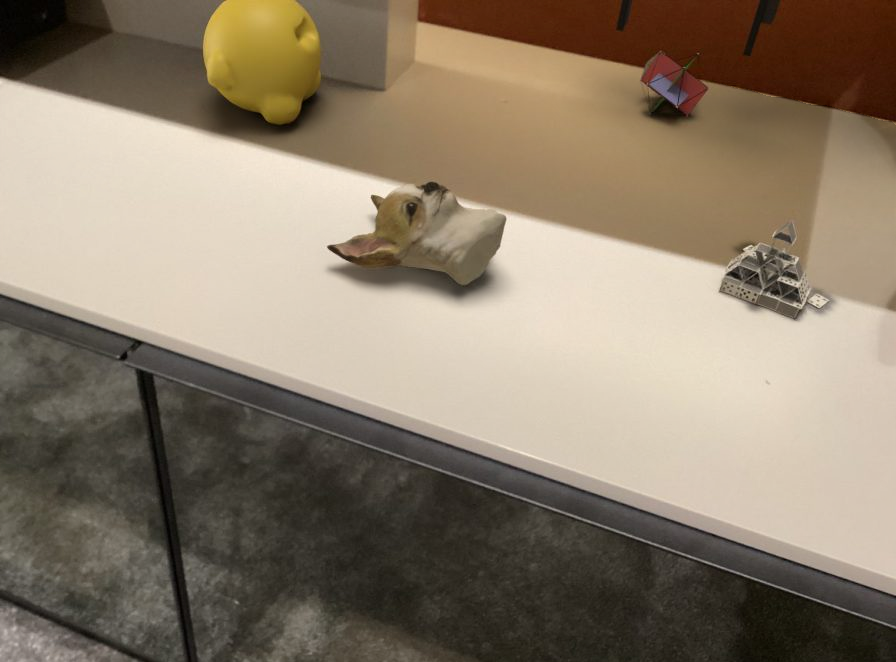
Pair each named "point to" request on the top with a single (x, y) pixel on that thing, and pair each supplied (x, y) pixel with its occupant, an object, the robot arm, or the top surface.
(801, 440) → the top surface
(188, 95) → the top surface
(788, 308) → the house of cards
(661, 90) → the geometric puzzle
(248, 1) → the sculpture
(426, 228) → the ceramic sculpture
